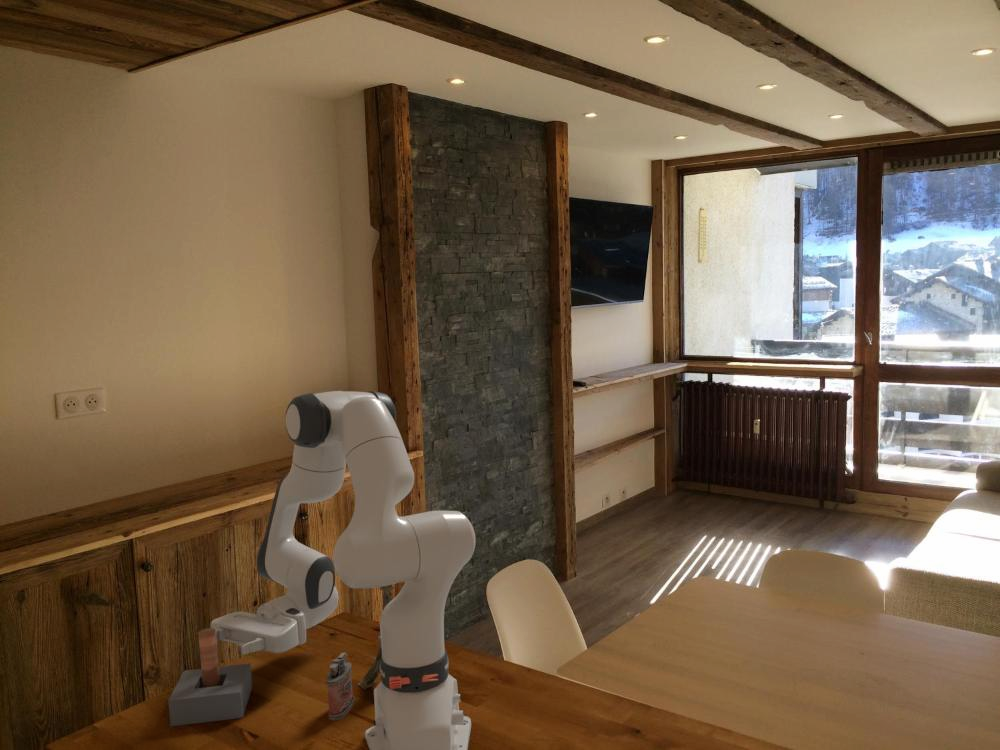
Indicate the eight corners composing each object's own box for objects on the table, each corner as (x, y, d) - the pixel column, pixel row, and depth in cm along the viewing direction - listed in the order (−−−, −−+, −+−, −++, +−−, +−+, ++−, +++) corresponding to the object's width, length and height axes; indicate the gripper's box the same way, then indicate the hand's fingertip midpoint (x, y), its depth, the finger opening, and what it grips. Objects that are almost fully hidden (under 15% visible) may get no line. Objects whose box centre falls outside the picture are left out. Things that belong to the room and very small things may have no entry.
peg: (220, 703, 163) (213, 633, 162) (202, 705, 163) (196, 635, 161) (222, 696, 166) (216, 627, 165) (206, 698, 166) (199, 629, 164)
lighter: (341, 720, 156) (338, 668, 155) (324, 719, 157) (320, 667, 156) (357, 699, 164) (354, 650, 163) (341, 699, 164) (337, 649, 164)
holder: (242, 717, 159) (240, 692, 159) (170, 726, 157) (168, 700, 157) (252, 686, 172) (250, 663, 171) (186, 694, 170) (183, 670, 170)
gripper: (240, 600, 184) (187, 622, 172) (309, 614, 173) (258, 639, 161) (242, 628, 184) (190, 652, 172) (311, 644, 173) (260, 671, 162)
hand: (223, 646), depth 167 cm, fingers open, 8 cm apart
